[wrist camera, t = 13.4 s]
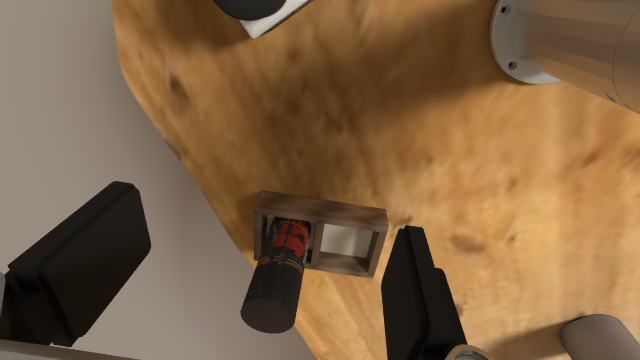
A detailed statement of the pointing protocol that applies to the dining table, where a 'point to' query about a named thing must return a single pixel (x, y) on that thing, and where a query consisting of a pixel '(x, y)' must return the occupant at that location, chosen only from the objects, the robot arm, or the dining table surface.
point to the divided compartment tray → (327, 232)
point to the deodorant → (278, 277)
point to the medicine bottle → (261, 13)
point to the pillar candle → (599, 339)
